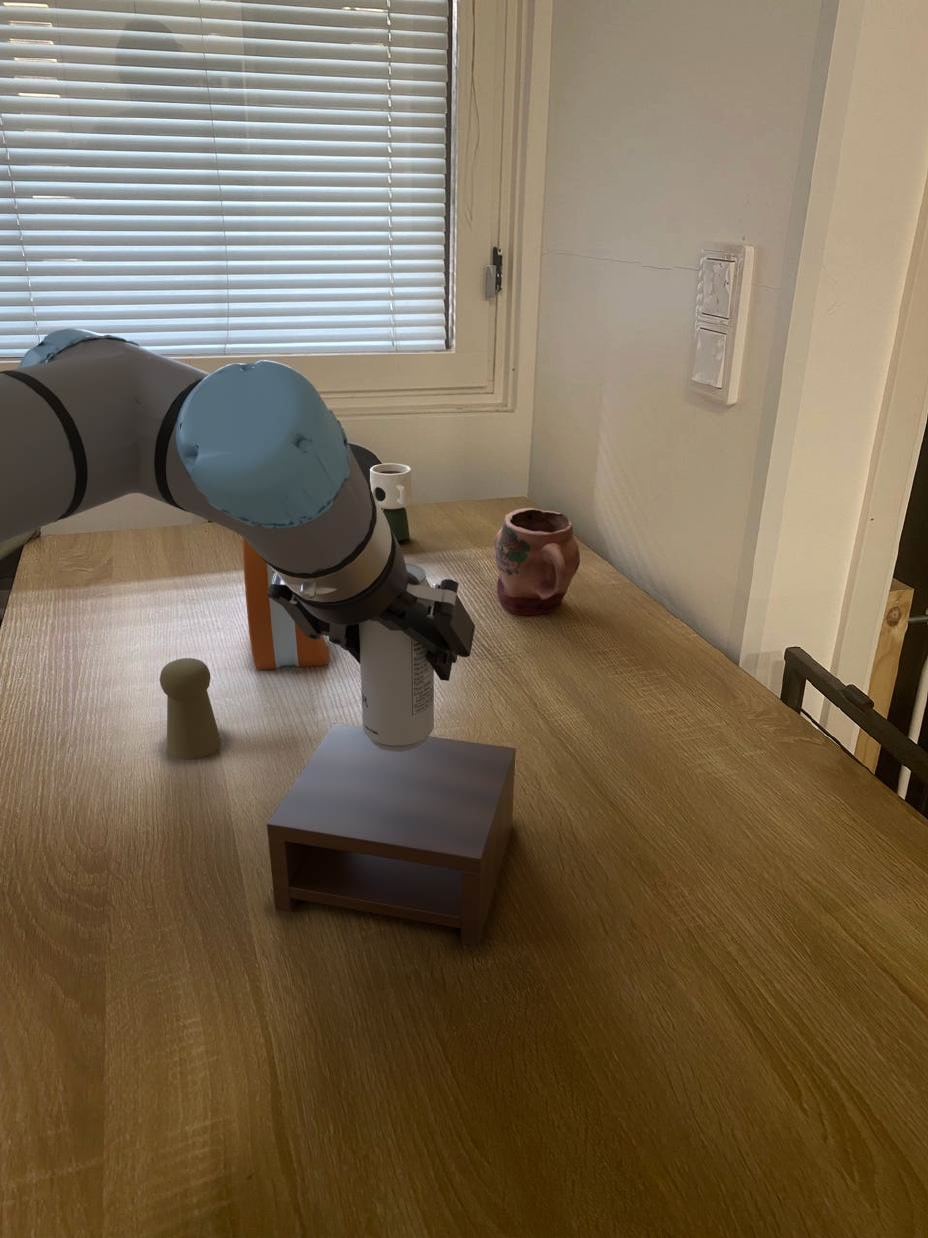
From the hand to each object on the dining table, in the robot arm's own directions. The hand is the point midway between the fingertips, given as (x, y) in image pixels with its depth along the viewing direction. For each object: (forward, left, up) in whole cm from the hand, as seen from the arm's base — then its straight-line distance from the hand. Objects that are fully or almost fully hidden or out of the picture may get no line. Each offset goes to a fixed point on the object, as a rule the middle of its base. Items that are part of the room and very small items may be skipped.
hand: (409, 660), depth 79 cm
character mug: (-75, +36, -21) cm, 86 cm away
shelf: (+3, -2, -20) cm, 21 cm away
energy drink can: (+3, -2, -6) cm, 7 cm away
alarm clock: (-45, +6, -21) cm, 50 cm away
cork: (-26, -13, -21) cm, 36 cm away
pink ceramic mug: (-39, +42, -21) cm, 61 cm away
